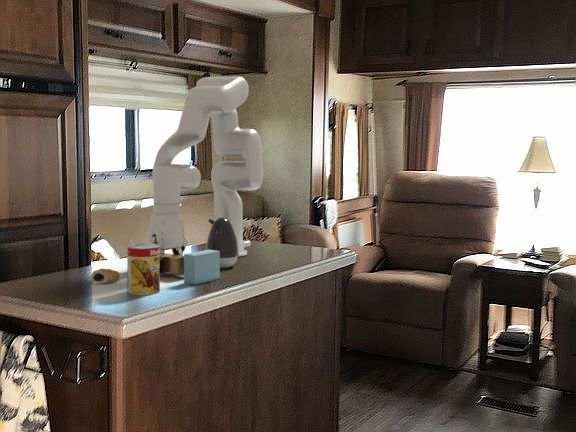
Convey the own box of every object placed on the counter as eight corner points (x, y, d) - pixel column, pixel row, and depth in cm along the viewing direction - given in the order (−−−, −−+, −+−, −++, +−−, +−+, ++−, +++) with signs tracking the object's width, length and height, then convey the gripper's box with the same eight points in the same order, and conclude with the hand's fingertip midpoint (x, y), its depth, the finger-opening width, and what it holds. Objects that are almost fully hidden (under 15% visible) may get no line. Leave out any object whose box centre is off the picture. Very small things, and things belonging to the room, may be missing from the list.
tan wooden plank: (143, 265, 211) (143, 248, 210) (192, 273, 199) (192, 255, 198) (130, 267, 207) (130, 250, 206) (180, 275, 195) (180, 258, 194)
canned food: (161, 294, 177) (160, 247, 175) (129, 296, 175) (128, 248, 173) (158, 287, 184) (157, 242, 183) (127, 289, 182) (126, 243, 181)
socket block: (209, 277, 198) (209, 249, 198) (219, 279, 196) (219, 251, 195) (184, 283, 190) (184, 254, 189) (194, 285, 188) (194, 255, 187)
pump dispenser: (220, 262, 223) (219, 215, 221) (245, 266, 217) (245, 217, 215) (198, 267, 214) (197, 217, 213) (224, 271, 208) (223, 220, 207)
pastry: (104, 277, 198) (104, 264, 198) (126, 279, 197) (126, 265, 196) (87, 284, 189) (86, 270, 189) (109, 285, 188) (109, 271, 187)
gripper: (179, 206, 208) (179, 265, 210) (134, 210, 194) (135, 274, 196) (197, 208, 204) (198, 268, 206) (153, 212, 190) (154, 277, 192)
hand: (167, 270), depth 201 cm, fingers open, 6 cm apart
